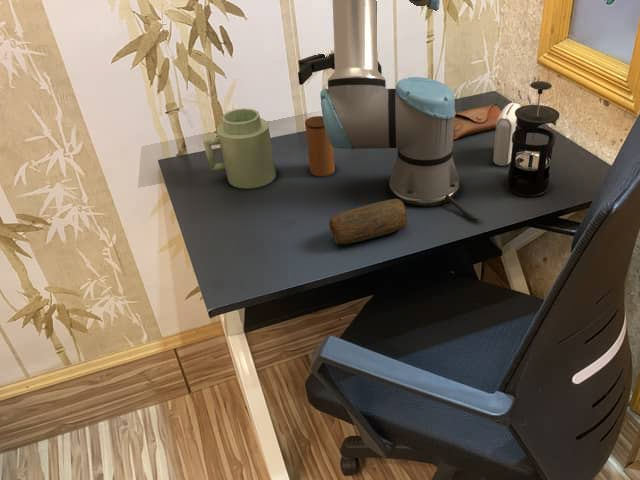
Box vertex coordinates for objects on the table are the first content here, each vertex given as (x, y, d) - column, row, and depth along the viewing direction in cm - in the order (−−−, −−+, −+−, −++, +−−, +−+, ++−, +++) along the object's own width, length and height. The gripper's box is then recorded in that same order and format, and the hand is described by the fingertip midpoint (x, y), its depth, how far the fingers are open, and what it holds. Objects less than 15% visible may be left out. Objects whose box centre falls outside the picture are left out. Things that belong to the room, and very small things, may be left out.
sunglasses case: (454, 139, 154) (448, 112, 152) (441, 143, 160) (435, 117, 159) (514, 124, 160) (508, 98, 159) (499, 129, 166) (494, 103, 165)
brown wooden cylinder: (394, 217, 128) (393, 188, 124) (410, 234, 123) (410, 205, 119) (326, 236, 123) (323, 207, 118) (340, 255, 118) (338, 225, 114)
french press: (558, 194, 134) (576, 89, 119) (520, 202, 132) (533, 96, 117) (531, 169, 143) (545, 69, 128) (495, 177, 140) (504, 75, 125)
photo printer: (502, 146, 152) (507, 96, 144) (519, 149, 151) (525, 99, 143) (490, 164, 145) (494, 114, 137) (508, 167, 143) (513, 116, 135)
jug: (279, 184, 139) (269, 123, 129) (213, 194, 136) (199, 131, 127) (273, 162, 147) (263, 102, 138) (211, 170, 144) (197, 110, 135)
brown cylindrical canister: (336, 174, 142) (332, 124, 134) (312, 177, 141) (306, 128, 133) (332, 163, 146) (327, 114, 138) (308, 166, 145) (302, 117, 137)
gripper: (405, 69, 154) (382, 102, 138) (311, 62, 159) (278, 93, 143) (405, 38, 150) (381, 68, 134) (308, 31, 154) (274, 60, 139)
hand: (328, 81), depth 138 cm, fingers open, 13 cm apart
